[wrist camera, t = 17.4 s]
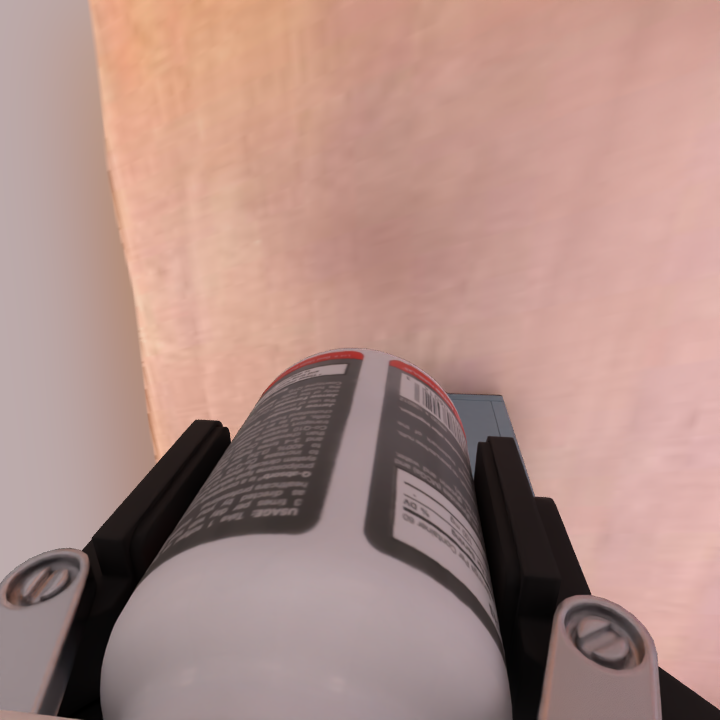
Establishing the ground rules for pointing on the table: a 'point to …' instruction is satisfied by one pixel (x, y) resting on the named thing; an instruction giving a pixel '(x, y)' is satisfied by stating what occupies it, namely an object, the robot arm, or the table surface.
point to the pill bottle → (322, 566)
